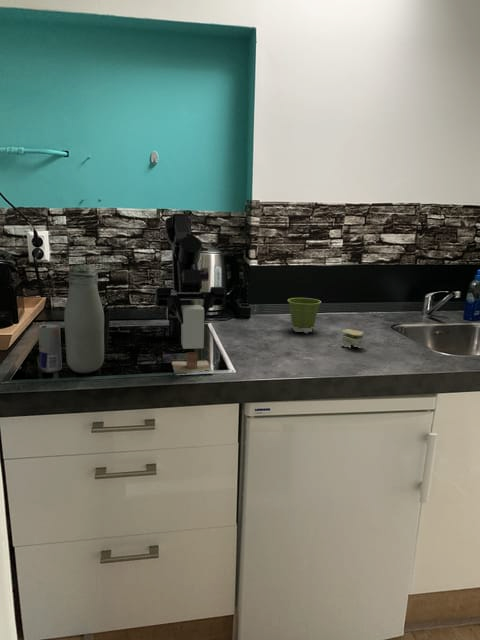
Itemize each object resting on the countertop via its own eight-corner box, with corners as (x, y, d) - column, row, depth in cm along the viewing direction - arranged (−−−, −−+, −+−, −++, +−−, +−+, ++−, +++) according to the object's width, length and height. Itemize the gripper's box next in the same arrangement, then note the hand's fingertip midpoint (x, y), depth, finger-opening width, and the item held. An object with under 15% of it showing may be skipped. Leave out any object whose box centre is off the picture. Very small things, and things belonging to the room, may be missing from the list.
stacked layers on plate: (331, 348, 167) (332, 331, 166) (346, 343, 174) (347, 327, 172) (358, 355, 161) (360, 337, 160) (373, 349, 167) (374, 333, 166)
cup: (116, 348, 158) (115, 310, 156) (102, 355, 151) (100, 315, 149) (94, 345, 161) (93, 307, 158) (79, 352, 154) (77, 312, 151)
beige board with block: (171, 364, 145) (171, 348, 144) (207, 363, 147) (207, 347, 146) (174, 376, 136) (175, 360, 135) (212, 374, 138) (213, 358, 137)
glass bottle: (70, 380, 131) (65, 269, 124) (63, 367, 140) (58, 263, 133) (109, 374, 135) (106, 268, 129) (100, 363, 144) (97, 262, 138)
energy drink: (43, 366, 140) (41, 323, 138) (64, 366, 141) (62, 323, 138) (38, 372, 135) (35, 328, 132) (59, 372, 136) (56, 328, 133)
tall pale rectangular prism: (181, 343, 142) (181, 305, 139) (200, 342, 143) (201, 304, 141) (183, 348, 137) (183, 309, 134) (203, 348, 138) (204, 309, 135)
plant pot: (324, 330, 187) (326, 300, 185) (310, 337, 178) (312, 305, 175) (295, 325, 193) (296, 296, 191) (280, 332, 184) (281, 300, 181)
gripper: (155, 257, 136) (158, 307, 128) (225, 257, 140) (232, 306, 132) (154, 281, 146) (156, 329, 138) (219, 281, 150) (226, 328, 142)
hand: (193, 323), depth 137 cm, fingers closed on tall pale rectangular prism, 5 cm apart
